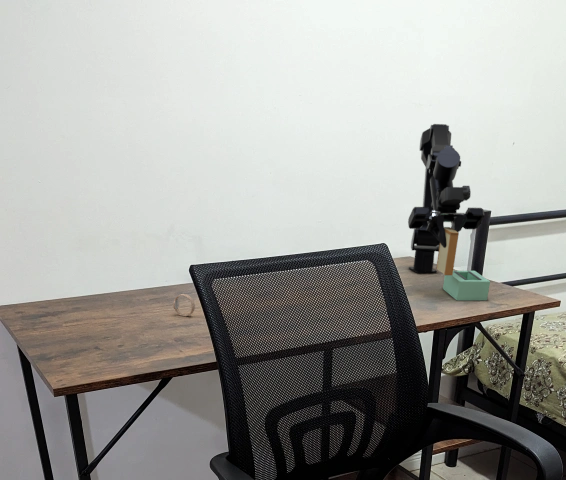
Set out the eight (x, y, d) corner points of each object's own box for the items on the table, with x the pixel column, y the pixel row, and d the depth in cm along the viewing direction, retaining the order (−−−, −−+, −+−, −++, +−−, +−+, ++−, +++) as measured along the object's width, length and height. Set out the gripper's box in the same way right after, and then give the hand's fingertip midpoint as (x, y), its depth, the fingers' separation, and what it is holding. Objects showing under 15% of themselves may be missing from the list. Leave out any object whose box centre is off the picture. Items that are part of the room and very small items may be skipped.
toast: (436, 268, 192) (441, 226, 186) (443, 268, 192) (449, 227, 186) (444, 275, 185) (451, 232, 180) (452, 275, 185) (458, 232, 180)
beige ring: (178, 313, 172) (177, 292, 170) (196, 315, 171) (195, 294, 168) (173, 316, 170) (172, 294, 168) (191, 318, 169) (190, 297, 166)
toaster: (442, 288, 200) (445, 269, 198) (475, 288, 201) (478, 269, 199) (456, 300, 190) (459, 280, 187) (491, 300, 191) (494, 280, 189)
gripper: (416, 172, 179) (423, 227, 175) (488, 173, 181) (496, 228, 177) (405, 201, 189) (411, 253, 186) (472, 202, 192) (480, 254, 188)
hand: (449, 246), depth 184 cm, fingers closed on toast, 2 cm apart
